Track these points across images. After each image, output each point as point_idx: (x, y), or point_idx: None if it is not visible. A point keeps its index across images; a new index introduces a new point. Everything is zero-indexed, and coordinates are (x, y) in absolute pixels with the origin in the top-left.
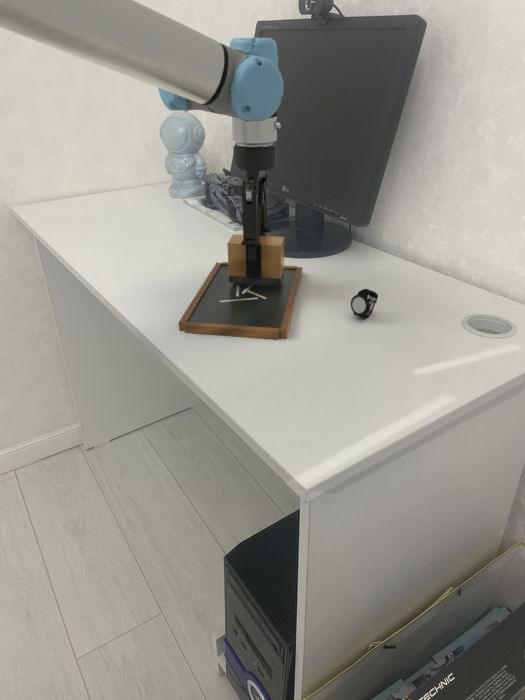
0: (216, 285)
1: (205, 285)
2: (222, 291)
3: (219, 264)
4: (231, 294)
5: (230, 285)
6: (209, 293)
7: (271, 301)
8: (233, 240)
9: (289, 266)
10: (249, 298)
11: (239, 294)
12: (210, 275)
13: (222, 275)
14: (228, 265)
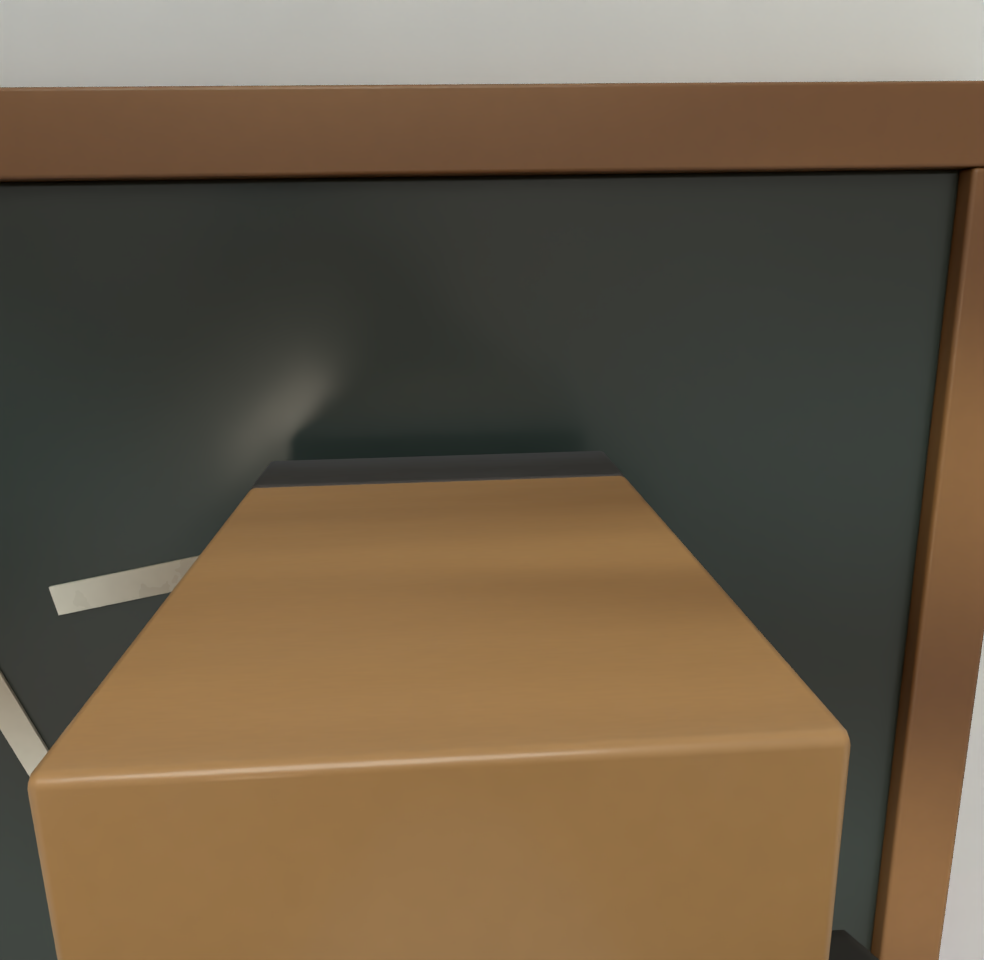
0: (292, 277)
1: (208, 138)
2: (133, 400)
3: (951, 146)
4: (85, 523)
5: (333, 451)
6: (30, 251)
7: (38, 942)
8: (298, 883)
9: (916, 956)
10: (31, 737)
11: (106, 611)
12: (550, 118)
13: (619, 274)
14: (210, 541)
